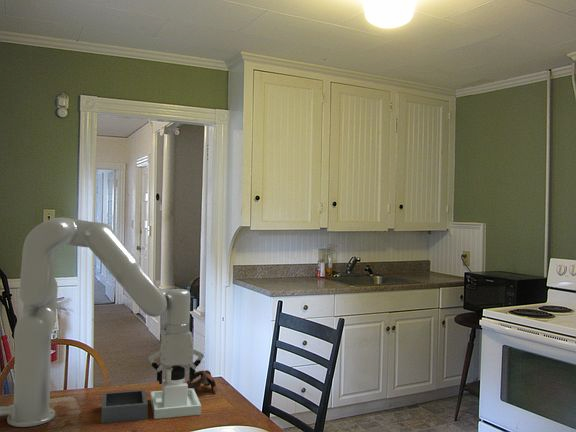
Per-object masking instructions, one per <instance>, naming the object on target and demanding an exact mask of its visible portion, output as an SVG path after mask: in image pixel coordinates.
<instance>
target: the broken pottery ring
mask: <svg viewBox="0 0 576 432" xmlns="http://www.w3.org/2000/svg"><path fill="white" fill-rule="evenodd" d="M198 377H199V378H198ZM197 378H198V379H197ZM195 379H197V380H196V381H194V380H195ZM186 383H187V385H188V389H189V388H194V390H202V389H201V384H202V385H204V387H209V386H210V388H211V390H212V391H213V394H215V395H216V394H217V393H218V389H217V384H216V381H215V379H214V377H213V376H212V374H211V372H210V370H208V369H206V370H199V371H195V378H193V382H190V380H189V379H188V380H187V381H186Z"/></svg>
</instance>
